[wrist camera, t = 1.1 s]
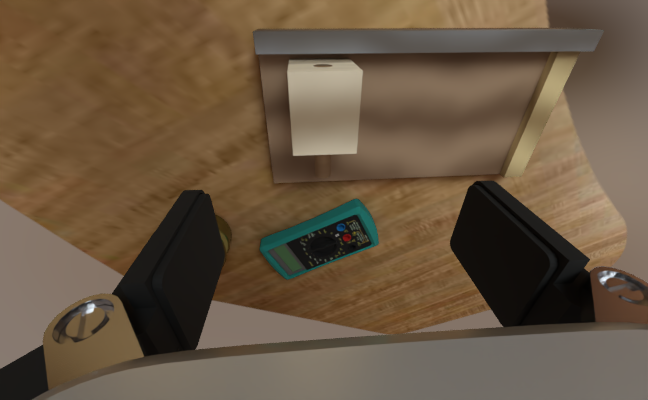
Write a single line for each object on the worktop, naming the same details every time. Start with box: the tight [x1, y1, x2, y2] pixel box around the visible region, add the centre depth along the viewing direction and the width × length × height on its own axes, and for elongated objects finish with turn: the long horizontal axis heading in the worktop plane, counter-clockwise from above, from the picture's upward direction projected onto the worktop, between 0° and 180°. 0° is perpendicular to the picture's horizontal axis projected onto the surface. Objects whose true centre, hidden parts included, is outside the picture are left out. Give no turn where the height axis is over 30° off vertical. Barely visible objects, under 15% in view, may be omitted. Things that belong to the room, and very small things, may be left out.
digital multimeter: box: [260, 199, 379, 279], centre depth 36 cm, size 7×15×3 cm, turn 115°
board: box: [253, 28, 604, 183], centre depth 27 cm, size 14×28×4 cm, turn 90°
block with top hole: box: [287, 58, 363, 178], centre depth 23 cm, size 9×5×6 cm, turn 0°
